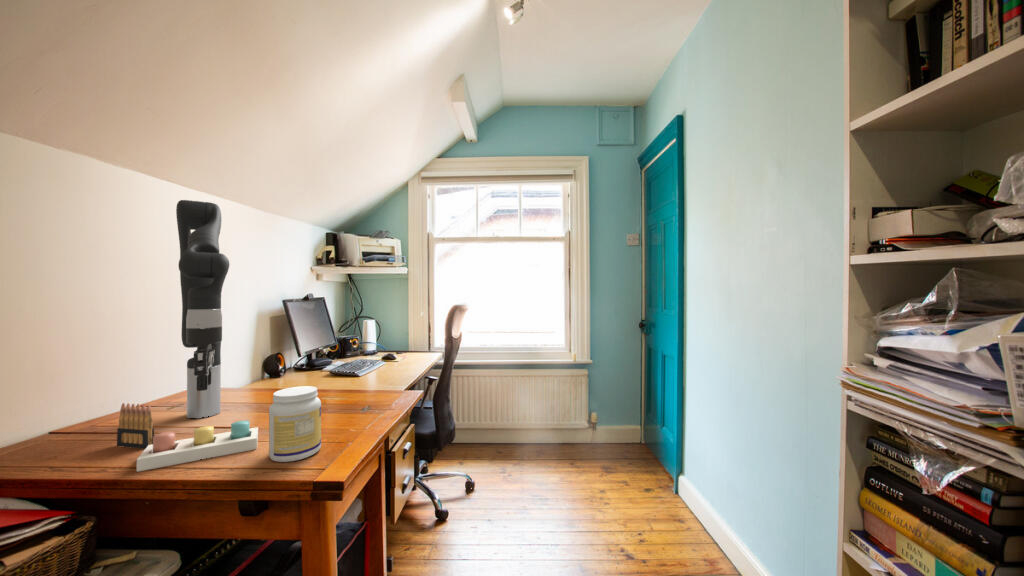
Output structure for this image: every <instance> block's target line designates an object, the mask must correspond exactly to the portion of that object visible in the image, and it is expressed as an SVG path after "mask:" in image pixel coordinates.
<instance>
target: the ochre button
mask: <svg viewBox="0 0 1024 576" xmlns="http://www.w3.org/2000/svg"><path fill="white" fill-rule="evenodd" d="M214 432H215V426H214V425H204V426H200V427H197V428H194V430H193V438H194V446H198V445H204V444H210V443H214V434H215V433H214Z"/></svg>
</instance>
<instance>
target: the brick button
mask: <svg viewBox="0 0 1024 576" xmlns="http://www.w3.org/2000/svg"><path fill="white" fill-rule="evenodd" d="M175 441H176V432H175V431H165V432H161V433H158V434H154V436H153V453H158V452H163V451H169V450H175Z"/></svg>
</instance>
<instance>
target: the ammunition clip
mask: <svg viewBox="0 0 1024 576" xmlns="http://www.w3.org/2000/svg"><path fill="white" fill-rule="evenodd" d="M119 410H120V411H119V419H118V427H117V430H116V433H117V434H116V447H119V446H124V447H123V448H130V447H131V448H132V449H134V448H135V449H141V448H143V450H145V449H146V448H147V446H148V445H152V444H153V436H155V428H154V427H153V417H152V415H153V414H152V407H151V406H150V404H147V406H145V404H142V405H140V404H139V403H137V404H136V405H135V403H132V404H131V405H130V403H129V402H128V403H127V404H125V402H122V404H121V407H120V409H119Z"/></svg>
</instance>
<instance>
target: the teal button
mask: <svg viewBox="0 0 1024 576" xmlns="http://www.w3.org/2000/svg"><path fill="white" fill-rule="evenodd" d="M230 424H231V425H230V432H231V440H233V439H238V438H244V437H249V429H250V420H243V419H242V420H239V421H237V420H236V421H235V422H232V423H230Z"/></svg>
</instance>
